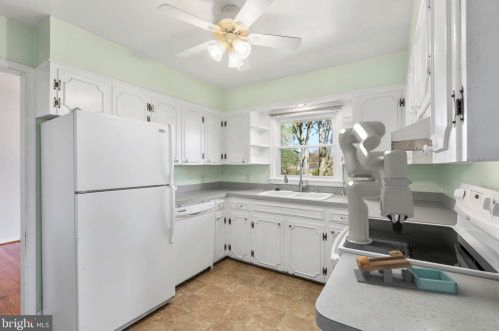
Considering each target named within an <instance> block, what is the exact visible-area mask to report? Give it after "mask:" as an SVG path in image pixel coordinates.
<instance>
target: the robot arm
mask: <svg viewBox="0 0 499 331" xmlns="http://www.w3.org/2000/svg"><path fill="white" fill-rule="evenodd" d="M385 135H386V126H385V124H384V123H383V122H381V121H378V120H375V121H374V120H371V121H369V120H367V121H363V120H362V121H358V122H356V123H354V125H353V126H352V127H347V128H343V129H341V130H340V131H339V133H338V139H337V140H338V144H339V147H340V149H341V153H342V154H343V158H344V164H345V166H344V167H345V172H346V175H347V177H348V178H350V179H352V180H349V181H347V183H345V192H346V197H347V214H348V217H347V219H348V220H347V221H348V222H347V224H348V226H347V227H348V230H347V231H348V235H346V236H345V241H346V240H347V241H346V242H348V243H350V244H355V245H364V246H365V245H371V244H372V243H373V239H372V238H370V237H369V235H370V234H369V228H370V226H369V207H368V203H366V202H365V200H364V199H378V198H379V210H380V214H379V215H380V217H384V218H387V219H388V220H389V221H390V222H391V230H392V232H393V233H394V234H395V235H402V232H403V224H404V222H405V221H406V220H407V219H412V218H415V214H414V212H415V206H414V197H413V193H412V189H411V187H410V186H409V185H413V180H412V179H411V180H410V179H409V175H408V174H409V172H408V153H407V151H406V150H404V149H391V150H386V151H381V150H380V151H379V150H377V151H375V150H376V149H378V147H379V146H380V145H381V140H382V138H383V137H384V136H385ZM354 144H358V146H357V147H356V146H355V145H354ZM382 170H383V181H382V176H381V171H382ZM396 215H397V217H396ZM396 218H397V219H396Z"/></svg>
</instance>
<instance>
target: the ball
mask: <svg viewBox="0 0 499 331" xmlns="http://www.w3.org/2000/svg"><path fill="white" fill-rule="evenodd" d="M358 259H359V261H360V263H361V264H362V265H368V264H369V257H368V256H366V255H362V256H360V257H359V258H358Z"/></svg>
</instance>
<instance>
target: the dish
mask: <svg viewBox="0 0 499 331" xmlns="http://www.w3.org/2000/svg"><path fill="white" fill-rule="evenodd" d="M406 270H409V272H410V273H411V274H412V282H413V283H414V284H415V285H416V287H417V289H416V290H421V291H429V292H438V293H447V294H454V295H456V294H457V295H458V294H459V293H458V291H459V290H458V288H459V286H458V285H459V284H458V282H456V281H455V280H454V279H453V278H452V277H451V276H450V275H449V274H447V273H446V272H445V271H444V270H443V269H438V268H437V269H435V268H427V267H426V268H424V267H416V266H412V268H406Z"/></svg>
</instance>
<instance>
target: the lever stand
mask: <svg viewBox="0 0 499 331" xmlns="http://www.w3.org/2000/svg"><path fill="white" fill-rule="evenodd" d="M400 269H401V270H400V273H398V272H397V273H396V272H393V269H383V270H377V271H366V272H360V270H359V268H353V272H354V275H355V278H356V281H357V283H365V284H373V285H382V286H383V285H384V286H389V287H397V288H405V289H407V288H409V289H416V290H418V289H417V287H416V285H415V284H414V283H413V282H412V274H411V273H410V272H409V270H407V268H400Z"/></svg>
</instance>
